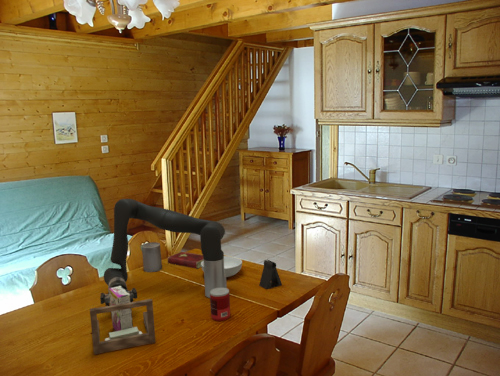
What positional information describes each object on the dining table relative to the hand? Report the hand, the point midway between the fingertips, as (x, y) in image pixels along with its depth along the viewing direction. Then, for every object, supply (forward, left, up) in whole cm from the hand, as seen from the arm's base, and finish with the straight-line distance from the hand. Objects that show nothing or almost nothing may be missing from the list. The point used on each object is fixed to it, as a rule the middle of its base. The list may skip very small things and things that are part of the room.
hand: (119, 302), depth 175 cm
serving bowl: (-52, -37, -9) cm, 65 cm away
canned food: (-38, +10, -9) cm, 40 cm away
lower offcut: (0, +15, -10) cm, 18 cm away
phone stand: (-69, -13, -9) cm, 71 cm away
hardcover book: (-40, -63, -10) cm, 76 cm away
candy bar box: (0, +7, -9) cm, 11 cm away
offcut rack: (0, +10, -9) cm, 14 cm away
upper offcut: (0, +15, -8) cm, 17 cm away
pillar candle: (-20, -61, -9) cm, 65 cm away
